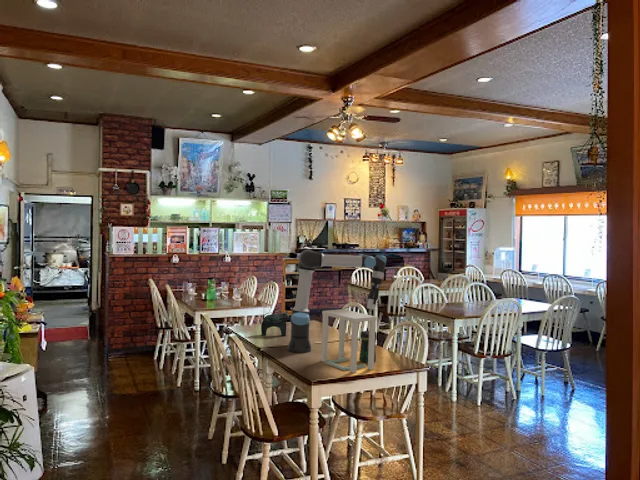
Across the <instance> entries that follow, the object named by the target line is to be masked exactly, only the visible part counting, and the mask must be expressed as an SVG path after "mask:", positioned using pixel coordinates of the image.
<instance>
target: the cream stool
mask: <svg viewBox="0 0 640 480" xmlns="http://www.w3.org/2000/svg"><path fill="white" fill-rule="evenodd" d="M321 314H322V327H321V328H322V329H321V351H320V352H321V359H320V360H321V362H322V363H325V365H328V366H331V367H334V368H336V369H339V370H341V371H344V372H346V371H349V372H350V373H352V374H355V373H357V369H363V368H367V369H368V370H369V371H372V370H374V369H375V362H374V350H375V351H376V342H375V332H376V321H377V316H374V315H370V314H366V313H362V312H357V311H352V310H348V309H344V308H341V309H340V308H339V309H329V310H322V312H321ZM329 317H331V318H337V319H339V329H338V330H339V331H338V354H337V355H338V357H337V358H336V359H335V358H334V359H329V360H328V339H329V336H328V335H329ZM346 321H348V322H351V339H350V340H351V341H350V343H351V344H350V366H343V365H340V364H337V363H342V362H347V361H348V357H345V338H346V337H345V333H346V332H345V331H346V330H345V329H346ZM361 322H369V325H368V327H369V330H368V331H369V349H368V363H363V364H358V362H357V361H358V338H359V337H358V335H359V323H361ZM366 364H367V365H366Z"/></svg>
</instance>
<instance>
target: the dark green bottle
mask: <svg viewBox="0 0 640 480" xmlns="http://www.w3.org/2000/svg"><path fill="white" fill-rule="evenodd" d="M377 335H378V334H377V331H375V343H377V337H378V336H377ZM368 349H369V330H362V331H361V333H360V350H359V351H360V352H359V359H358V360H359V362H361V363H363V364H368ZM375 362H377V355H376V349H375V350H374V363H375Z"/></svg>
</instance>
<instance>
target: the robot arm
mask: <svg viewBox="0 0 640 480" xmlns="http://www.w3.org/2000/svg"><path fill="white" fill-rule="evenodd" d="M386 264H387V257H386V256H384V255H381V254H376V255H375V256H371V255H366V254H362V253H358V255H347V254H346V255H345V254H324V253H323V252H318V251H314V250H311V249H305V250H302V251H301V252H300V254H299V256H298V267H297V269H298V271H299V276H298V283H297V291H296V297H295V304H294V307H293V308H292V309H291V316H290V317H289V318H290V325H291V326H290V330H291V331H290V339H289V343H288V346H287V351H288V352H291V353H298V354H300V353H302V354H304V353H309V352H311V351H312V345H311V341H310V321H311V318H310V309H309V301H310V294H311V286H312V279H313V273H314V272H316V269H317V268H322V267H341V268H343V267H344V268H365V269H373V270H372V272H371V273H372V274H371V279H370V283H372V284H371V286H370V291H369V293H368V297H367V298H368V299H367V304H366V309H370V310H374V311H375V310H376V306H377V301H378V299H379V295H380V294H379V293H380V286H381V285H383V278H384V276H385V274H384V273H385V269H386Z"/></svg>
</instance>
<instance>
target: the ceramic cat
mask: <svg viewBox="0 0 640 480" xmlns="http://www.w3.org/2000/svg"><path fill="white" fill-rule="evenodd" d="M276 310H279V313H278V314H277V313H274V312H272V313H270V314H269V312H266V313H265V314H264V315H263V317H262V321H261V324H260V325H261V326H260V332H261V336H264V337H265V336H267V332H268V329H270V328H273V327H274V328H279V330H280V334H281V335H280V336H281V337H286V336H287V321H288V320H289V318H290V317H289V313H288V310H286V311H285V312H282V311H281V309H280V307H277V308H276Z"/></svg>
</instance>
